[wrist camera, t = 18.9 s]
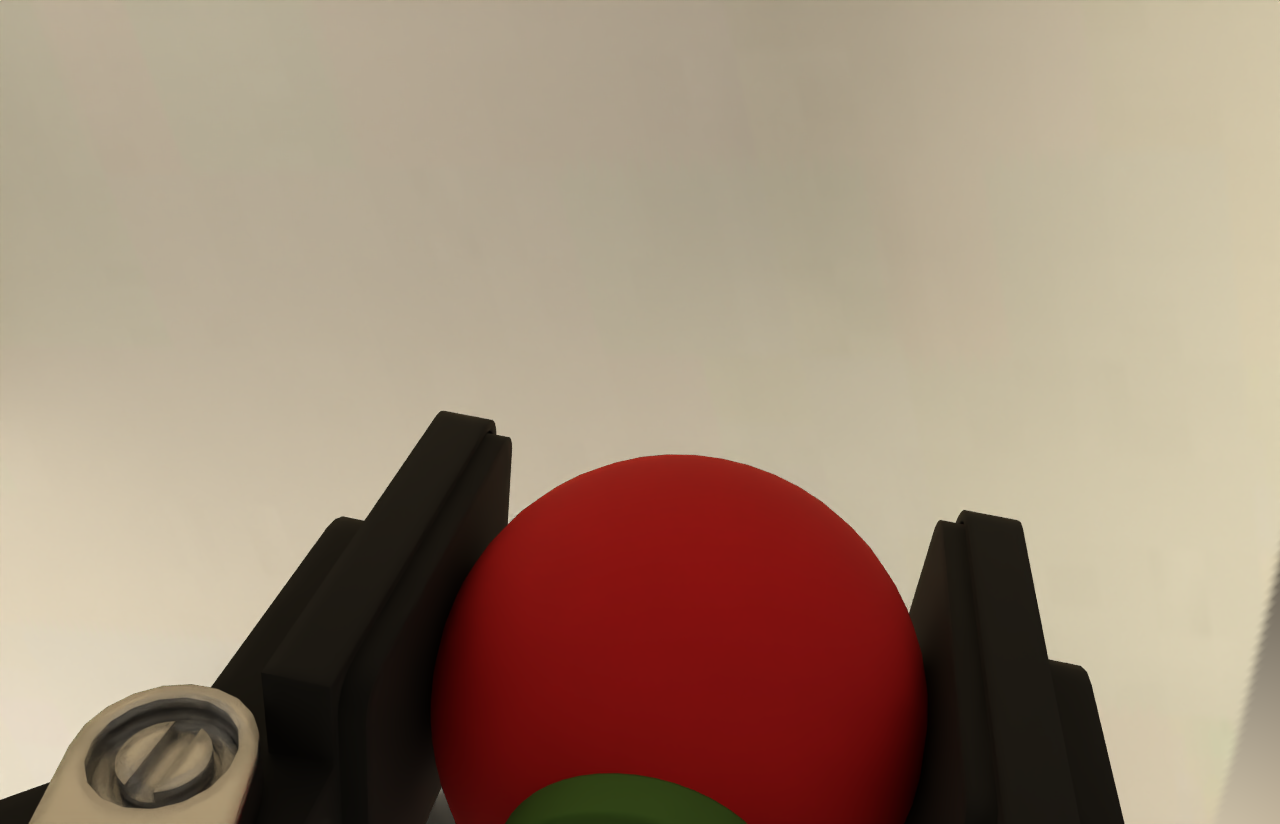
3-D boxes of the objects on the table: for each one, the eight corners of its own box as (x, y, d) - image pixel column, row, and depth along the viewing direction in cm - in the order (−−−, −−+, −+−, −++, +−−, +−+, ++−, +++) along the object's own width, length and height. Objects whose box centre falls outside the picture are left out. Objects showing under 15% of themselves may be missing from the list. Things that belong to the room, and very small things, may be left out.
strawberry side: (501, 661, 13) (350, 1022, 9) (521, 334, 11) (332, 632, 7) (869, 740, 13) (867, 1153, 9) (967, 416, 11) (1019, 778, 7)
